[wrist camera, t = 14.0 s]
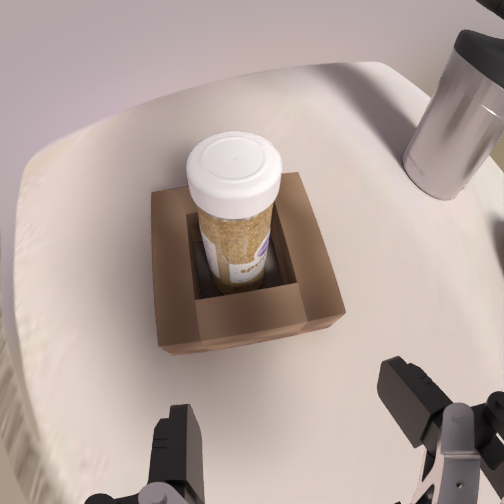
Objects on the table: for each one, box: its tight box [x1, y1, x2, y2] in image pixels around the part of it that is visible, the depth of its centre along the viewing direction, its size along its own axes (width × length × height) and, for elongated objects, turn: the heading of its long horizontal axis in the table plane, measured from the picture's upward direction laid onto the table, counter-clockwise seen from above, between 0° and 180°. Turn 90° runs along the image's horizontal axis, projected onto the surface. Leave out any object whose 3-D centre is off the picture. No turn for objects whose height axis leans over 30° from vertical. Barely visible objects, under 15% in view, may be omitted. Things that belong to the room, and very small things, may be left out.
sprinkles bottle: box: [186, 131, 282, 295], centre depth 19 cm, size 5×5×13 cm
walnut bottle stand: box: [151, 172, 346, 355], centre depth 23 cm, size 13×13×4 cm
